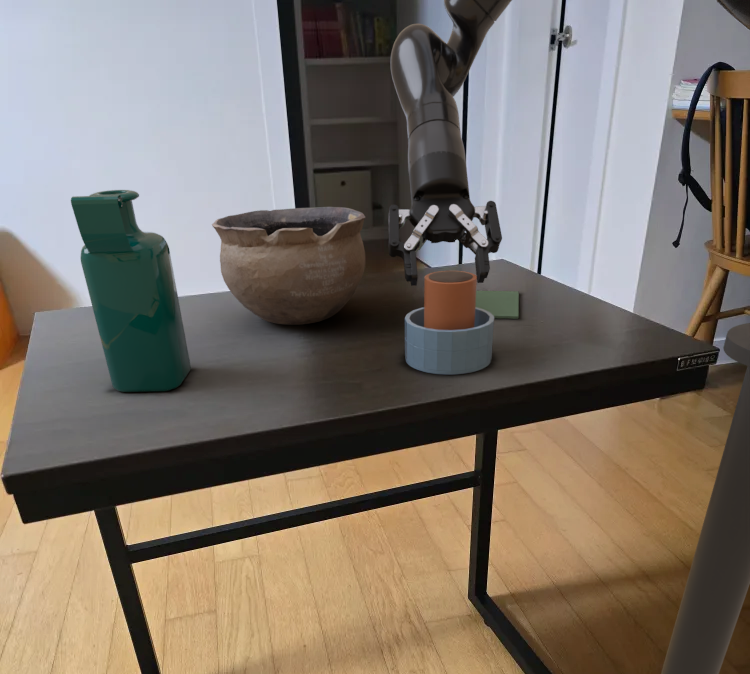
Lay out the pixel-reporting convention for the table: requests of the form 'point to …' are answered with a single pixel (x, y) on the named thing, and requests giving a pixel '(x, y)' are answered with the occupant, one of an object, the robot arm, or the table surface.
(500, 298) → the mat
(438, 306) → the small pot
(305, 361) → the table surface
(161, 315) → the green detergent bottle
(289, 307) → the ceramic bowl
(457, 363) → the big pot
